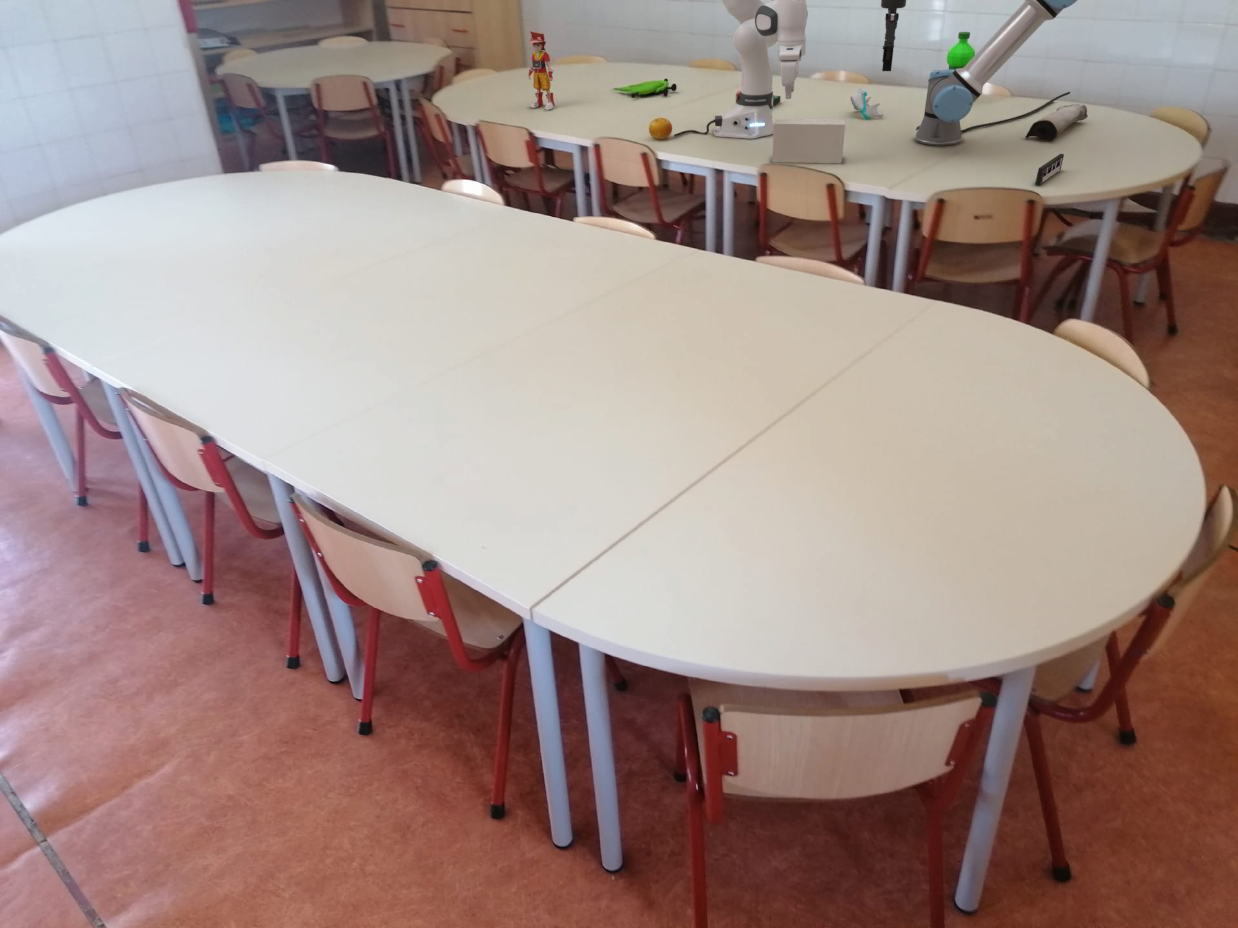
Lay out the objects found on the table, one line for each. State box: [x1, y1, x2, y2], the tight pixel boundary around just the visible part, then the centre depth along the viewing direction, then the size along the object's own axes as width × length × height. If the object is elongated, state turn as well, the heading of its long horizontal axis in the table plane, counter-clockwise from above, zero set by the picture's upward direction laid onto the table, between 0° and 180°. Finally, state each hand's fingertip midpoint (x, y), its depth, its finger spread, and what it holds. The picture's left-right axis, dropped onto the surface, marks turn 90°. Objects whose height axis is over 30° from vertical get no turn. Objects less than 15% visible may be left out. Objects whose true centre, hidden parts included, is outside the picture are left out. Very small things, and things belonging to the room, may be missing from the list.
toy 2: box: [612, 78, 677, 99], centre depth 396 cm, size 28×5×30 cm
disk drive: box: [772, 94, 781, 107], centre depth 365 cm, size 10×3×15 cm
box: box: [771, 118, 846, 164], centre depth 299 cm, size 23×6×12 cm, turn 76°
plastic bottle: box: [946, 31, 976, 70], centre depth 348 cm, size 10×10×25 cm
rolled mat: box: [1024, 103, 1089, 142], centre depth 314 cm, size 30×9×10 cm
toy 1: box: [527, 31, 556, 111], centre depth 374 cm, size 12×9×30 cm
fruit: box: [648, 117, 673, 140], centre depth 332 cm, size 8×8×8 cm
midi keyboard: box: [1035, 153, 1065, 186], centre depth 273 cm, size 18×1×5 cm, turn 138°
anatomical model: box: [850, 88, 884, 120], centre depth 343 cm, size 15×10×10 cm
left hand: (789, 95), depth 293 cm, fingers open, 8 cm apart
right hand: (886, 66), depth 291 cm, fingers open, 13 cm apart
